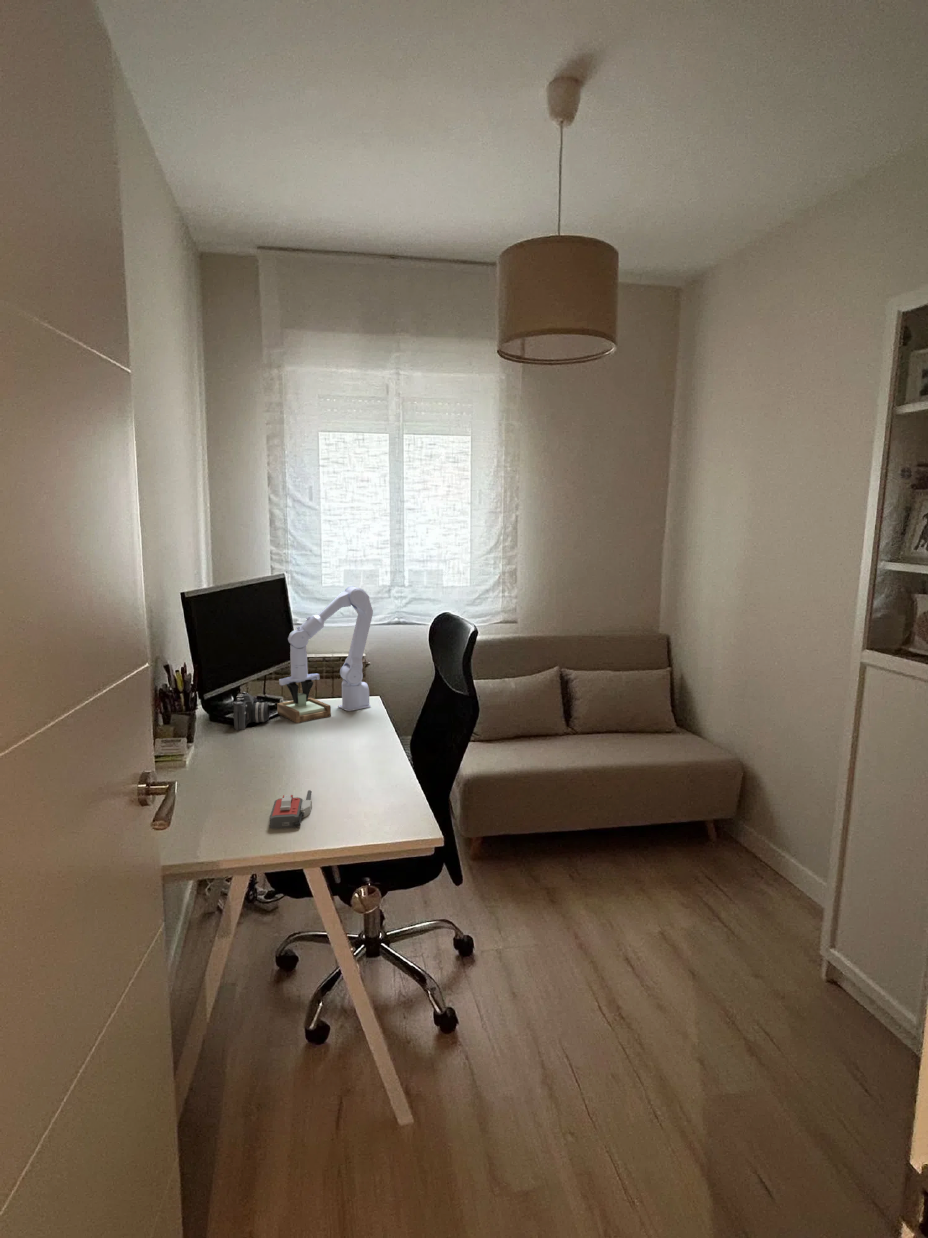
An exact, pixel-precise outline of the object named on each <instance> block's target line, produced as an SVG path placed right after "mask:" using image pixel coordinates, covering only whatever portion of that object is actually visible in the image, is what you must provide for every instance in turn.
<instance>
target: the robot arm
mask: <svg viewBox="0 0 928 1238" xmlns="http://www.w3.org/2000/svg"><path fill="white" fill-rule="evenodd" d="M349 607H352V608H353V609H354V610H355V612H356V613H357V617H356V621H355V626H354V629H353V635H352V637H351V643H350V646H349V647H350V648H349V651H348V655H347V657H346V658H345V660H344V663H343V665H342V666H341V667H340V670H339V675H340V677H341V679H342V681H341V703H342V704H341V705H337V707H338V708H339V709H341V710H345V711H347V712H352V711H356V710H362V709H366V708H371V704H370V689H369V685H368V683H367V682H365V681H363V678H364V674H363V668H364V664H363V656H364V652H365V647H366V645H367V641H368V636H369V631H370V628H371V622H372V619H373V614H374V610H373V608H372V604H371V600H370V596H369V594H368V593H367V592H366V591H365V589H363V588H361V587H357V586H354V585H350V586H347V587H346V588H345V589H344V590H342V591H341V592H340V593H339V594H338V595H336V597H335V598H334V599H333V600H331V602H330V603H328V604H327V605H326V606H325V608H324V609H322V610H321V611H320V612H319V613H318V614H312V615H308V616H306V620H305V621H304V622H302V624H300V625H297V626H296V629H295V630H291V632H290V633H289V635H288V637H287V641H288V643H289V644H290V645H289V646H290V647H289V648H290V652H289V654H290V655H289V656H290V657H289V659H290V660H289V661H290V676H287V677H284V678H279V679H278V682H279V683H278V684H279V685H280V686H285V685H286V687H287V689H288V690H289V692H290V694H291V697H292V701H294V703H296V704H297V703H298V694H299V684H297V683H301V684H300V685H301V689H302V693H304V694H306V702H307V701H308V698H309V695H310V692H311V689H312V687H313V685H314V680H317V681H318V680H320V678H321V677H320V673H308V672H309V671H308V651H307V645H308V643H309V640H311V639H312V638H313V637H314V636H315V635H317V634H318V633H319V632H320V631H321V630H322V629H323V628H324V625H325V621H328V619H329V618H331V617H332V616H333V615H334V614H335V613H337V612H338V611H339V610H341V609H342V608H349Z"/></svg>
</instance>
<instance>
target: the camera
mask: <svg viewBox="0 0 928 1238" xmlns="http://www.w3.org/2000/svg"><path fill="white" fill-rule="evenodd" d="M232 705H233V725H234V730H235V731H244V730H245V729H246V728H247V726H248V724H250V723H253V722H255V723H256V724H257V723H258V724H259V723H265V722H267V721H269V719H270V705H269V704H268V703H266V702H258V701H257V702H255V697H254V696H253V695H251V694H249V693H248V692H247V691H243V692H241V693H239V694H237V696H236V697H235V701H233V703H232Z"/></svg>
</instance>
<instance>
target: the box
mask: <svg viewBox="0 0 928 1238" xmlns="http://www.w3.org/2000/svg"><path fill="white" fill-rule="evenodd" d="M308 701H310V702H312V703H315V704H317V705H319V706H322V707H324V708H325V711H320V712H315V713H310V714H304V715H300V714H299V711H297V710H295V709H293V708H291V707H288V706H286V705H290V704H295V703H294V701H293V700H289V701H284V702H279V703H278V702H277V703H276V706H277V711H276V712H277V714H278V715H279V716H281V717H283V718H285V719H288V720H289V721H292V722H293V723H295V724H298V723H304V722H308V721H309V722H310V721H312V720H313V721H315V720H319V719H324V718H328V717H331V716H332V709H331V705H330V704H328V703H325V702H323V701H320V700H318V699H316V698H313V697H308Z"/></svg>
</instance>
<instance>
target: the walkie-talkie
mask: <svg viewBox="0 0 928 1238" xmlns="http://www.w3.org/2000/svg"><path fill="white" fill-rule="evenodd" d="M311 798H312V790H311V789H309V790H307V793H306V799H304V800H303V798H301V797H298V796H297V797H294V795H293V794H284V795H282V798H278V799H276V800H274V802H273V806H272V809H271V812H270V815H269V819H268V820H269V829H272V830H277V829H292V828H294V829H295V828H298V827H299V826H300V825H301V822H302V819H303V818H306V817H308V816H309V815H311V812H312V811H311V810H312V808H313V800H312V799H311Z"/></svg>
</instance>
